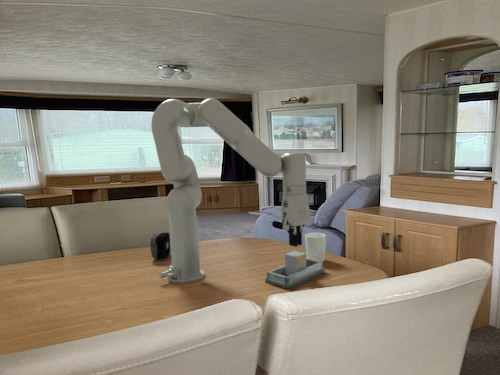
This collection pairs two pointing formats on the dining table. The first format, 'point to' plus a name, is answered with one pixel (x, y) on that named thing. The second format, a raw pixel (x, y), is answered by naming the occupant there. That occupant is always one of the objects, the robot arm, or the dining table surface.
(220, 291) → the dining table surface
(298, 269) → the block
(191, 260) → the robot arm
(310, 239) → the white cup
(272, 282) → the rail
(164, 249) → the cpu cooler
